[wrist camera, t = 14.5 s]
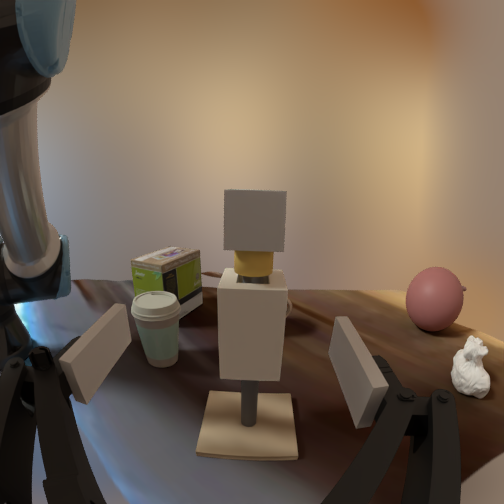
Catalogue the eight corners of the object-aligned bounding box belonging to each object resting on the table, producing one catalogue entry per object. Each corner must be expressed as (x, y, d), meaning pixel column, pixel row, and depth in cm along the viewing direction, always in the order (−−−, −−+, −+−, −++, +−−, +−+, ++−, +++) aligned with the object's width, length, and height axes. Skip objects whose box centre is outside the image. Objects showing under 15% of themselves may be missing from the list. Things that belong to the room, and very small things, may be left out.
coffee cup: (193, 364, 44) (188, 303, 42) (149, 377, 39) (137, 314, 36) (174, 342, 51) (169, 286, 48) (134, 352, 46) (124, 294, 43)
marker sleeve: (279, 380, 25) (287, 290, 23) (220, 378, 25) (217, 288, 23) (276, 349, 31) (282, 269, 29) (226, 347, 31) (225, 267, 29)
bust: (444, 378, 38) (432, 343, 37) (473, 355, 37) (464, 317, 35) (470, 416, 27) (464, 383, 25) (502, 389, 25) (501, 351, 24)
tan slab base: (297, 459, 25) (298, 455, 25) (196, 455, 25) (195, 451, 25) (289, 397, 37) (290, 393, 36) (210, 395, 37) (209, 390, 37)
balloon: (474, 334, 48) (491, 276, 44) (420, 347, 47) (438, 279, 44) (442, 311, 63) (454, 260, 59) (389, 317, 62) (400, 259, 59)
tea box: (173, 297, 73) (170, 245, 70) (203, 304, 70) (202, 249, 66) (136, 317, 60) (129, 257, 56) (168, 328, 56) (162, 263, 53)
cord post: (267, 435, 28) (286, 191, 22) (227, 434, 28) (224, 189, 22) (267, 409, 33) (281, 190, 26) (231, 408, 33) (230, 189, 27)
